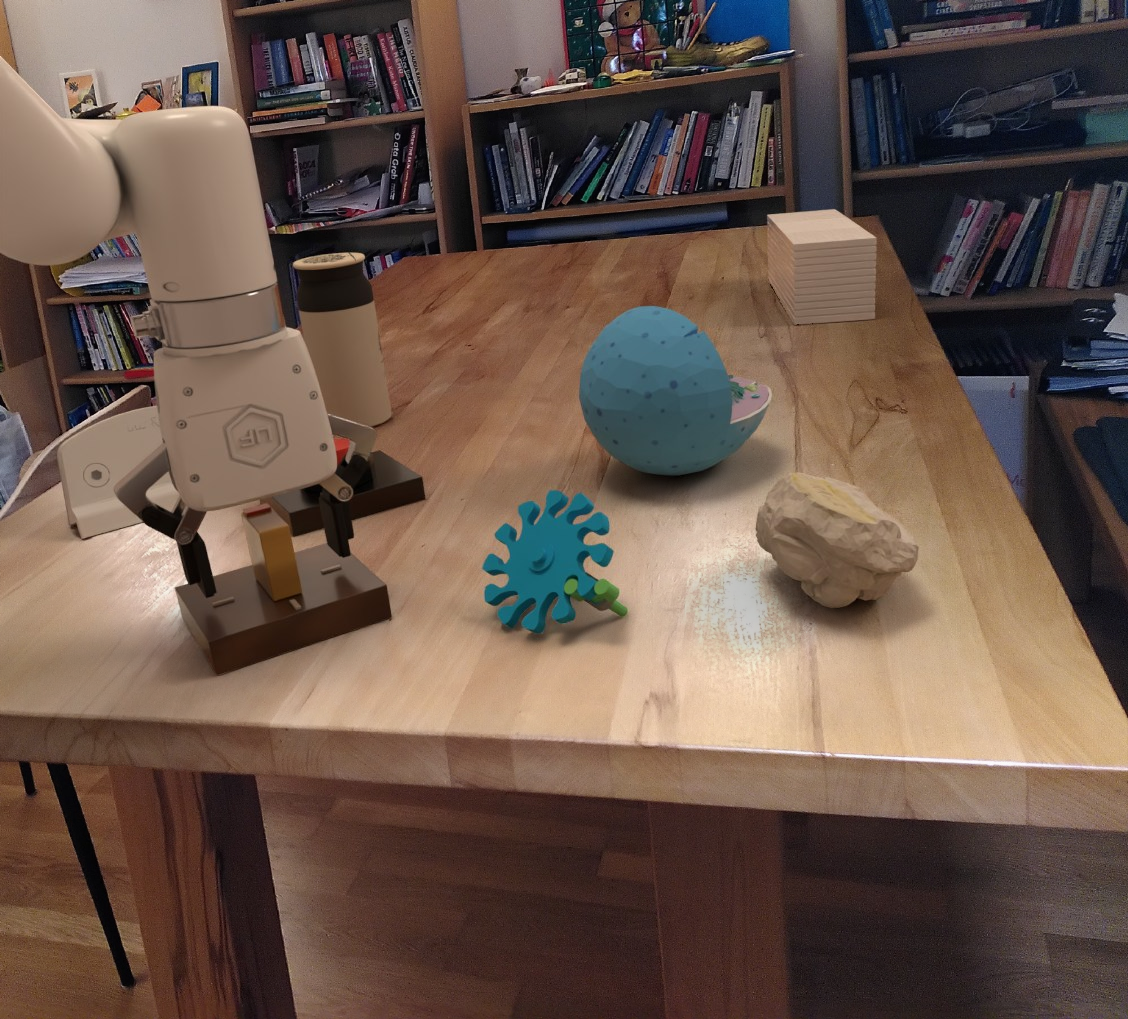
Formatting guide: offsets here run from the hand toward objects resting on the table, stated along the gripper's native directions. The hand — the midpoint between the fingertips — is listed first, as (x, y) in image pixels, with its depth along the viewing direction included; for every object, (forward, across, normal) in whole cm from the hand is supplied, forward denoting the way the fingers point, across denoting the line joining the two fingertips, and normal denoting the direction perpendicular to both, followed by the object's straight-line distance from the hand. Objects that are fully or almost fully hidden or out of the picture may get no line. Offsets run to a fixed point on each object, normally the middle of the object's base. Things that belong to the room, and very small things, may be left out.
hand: (274, 569), depth 71 cm
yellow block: (+1, 0, 0) cm, 1 cm away
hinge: (+4, -2, +31) cm, 31 cm away
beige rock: (+4, +31, -21) cm, 38 cm away
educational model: (+4, +38, +5) cm, 39 cm away
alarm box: (+4, +11, +19) cm, 22 cm away
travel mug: (+4, +20, +42) cm, 47 cm away
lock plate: (+4, 0, 0) cm, 4 cm away
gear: (+4, +15, -12) cm, 20 cm away
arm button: (0, +11, +19) cm, 22 cm away
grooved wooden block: (+4, +95, +49) cm, 107 cm away
